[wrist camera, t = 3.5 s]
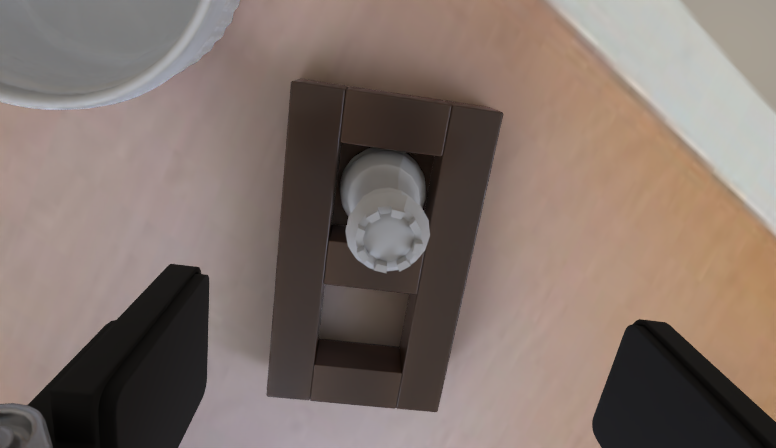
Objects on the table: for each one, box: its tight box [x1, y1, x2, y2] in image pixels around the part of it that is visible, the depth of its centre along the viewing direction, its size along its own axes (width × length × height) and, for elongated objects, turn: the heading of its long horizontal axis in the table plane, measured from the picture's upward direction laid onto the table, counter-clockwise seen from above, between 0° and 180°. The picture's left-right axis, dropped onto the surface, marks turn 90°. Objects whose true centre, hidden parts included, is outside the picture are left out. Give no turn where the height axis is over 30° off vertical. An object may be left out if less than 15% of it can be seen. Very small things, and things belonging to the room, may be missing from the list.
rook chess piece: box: [339, 147, 430, 273], centre depth 21 cm, size 4×4×8 cm
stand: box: [267, 79, 503, 412], centre depth 25 cm, size 10×17×2 cm, turn 171°
